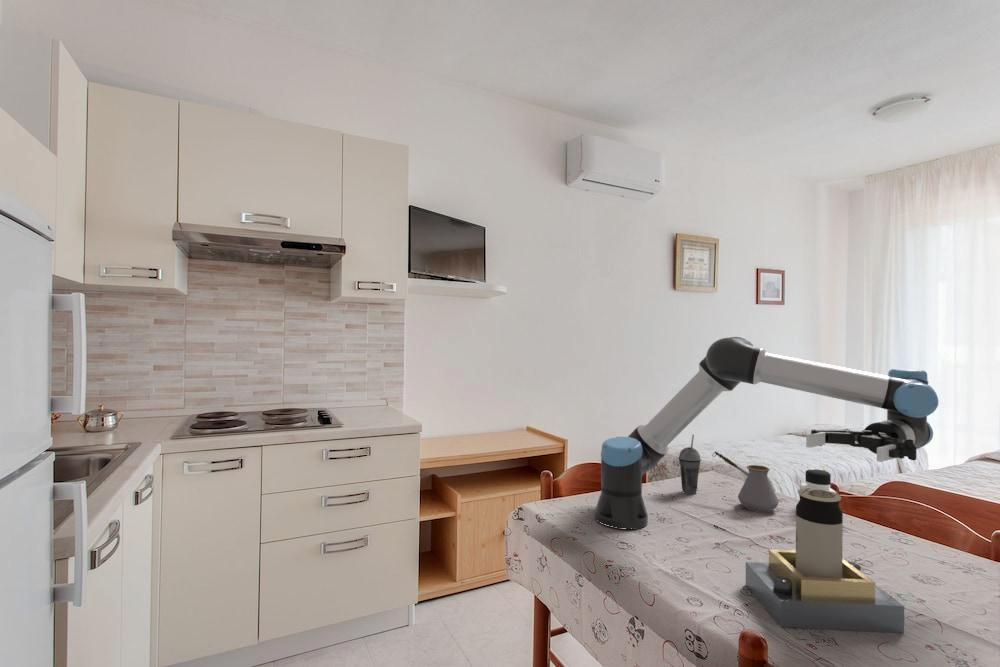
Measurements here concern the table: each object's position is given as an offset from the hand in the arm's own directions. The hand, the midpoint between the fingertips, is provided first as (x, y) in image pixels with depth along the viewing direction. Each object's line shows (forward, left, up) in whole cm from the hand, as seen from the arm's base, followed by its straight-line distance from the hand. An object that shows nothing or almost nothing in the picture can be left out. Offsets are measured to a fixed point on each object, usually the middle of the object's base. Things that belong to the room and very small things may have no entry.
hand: (841, 447), depth 106 cm
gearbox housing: (-7, -5, -31) cm, 32 cm away
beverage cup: (-11, +67, -32) cm, 75 cm away
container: (+23, +51, -32) cm, 64 cm away
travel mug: (-7, -5, -27) cm, 28 cm away
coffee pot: (+3, +57, -32) cm, 65 cm away
